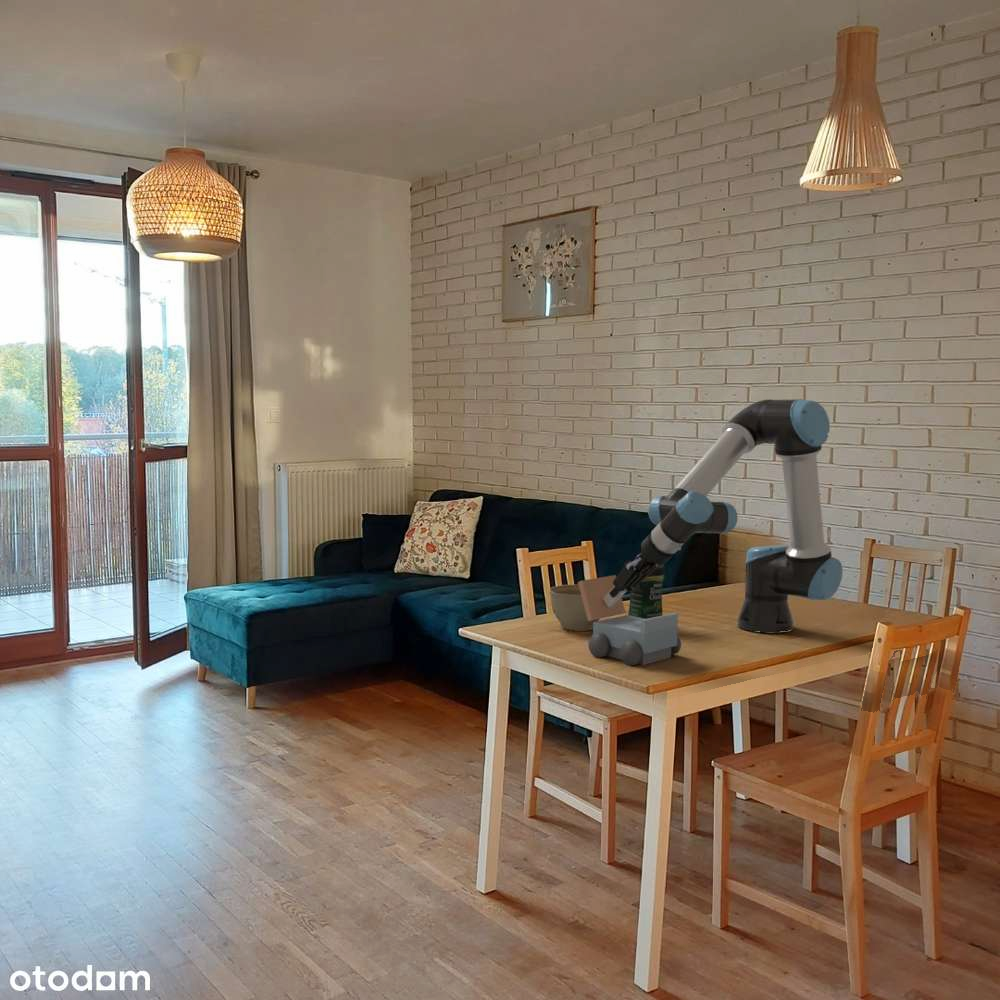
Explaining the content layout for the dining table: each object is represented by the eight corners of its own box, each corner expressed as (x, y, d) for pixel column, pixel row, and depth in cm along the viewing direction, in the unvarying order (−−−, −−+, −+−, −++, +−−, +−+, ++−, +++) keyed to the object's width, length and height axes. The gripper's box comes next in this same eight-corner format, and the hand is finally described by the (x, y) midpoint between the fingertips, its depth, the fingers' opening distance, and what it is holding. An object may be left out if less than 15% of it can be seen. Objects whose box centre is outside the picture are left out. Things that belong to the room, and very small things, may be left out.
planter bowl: (575, 619, 292) (576, 582, 291) (618, 628, 280) (619, 590, 279) (536, 627, 281) (537, 588, 280) (579, 637, 269) (580, 597, 268)
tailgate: (625, 612, 260) (615, 575, 262) (592, 619, 251) (581, 580, 253) (620, 614, 261) (610, 576, 263) (586, 621, 252) (576, 582, 254)
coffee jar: (643, 632, 277) (644, 564, 275) (623, 626, 283) (624, 560, 281) (668, 627, 283) (669, 561, 281) (647, 622, 289) (649, 558, 287)
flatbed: (681, 656, 250) (682, 612, 249) (638, 667, 239) (639, 621, 238) (630, 644, 262) (631, 602, 261) (587, 655, 250) (588, 611, 249)
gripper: (654, 558, 236) (598, 618, 249) (687, 552, 245) (631, 611, 258) (637, 533, 239) (582, 594, 253) (669, 529, 248) (615, 588, 262)
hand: (607, 602), depth 255 cm, fingers closed
